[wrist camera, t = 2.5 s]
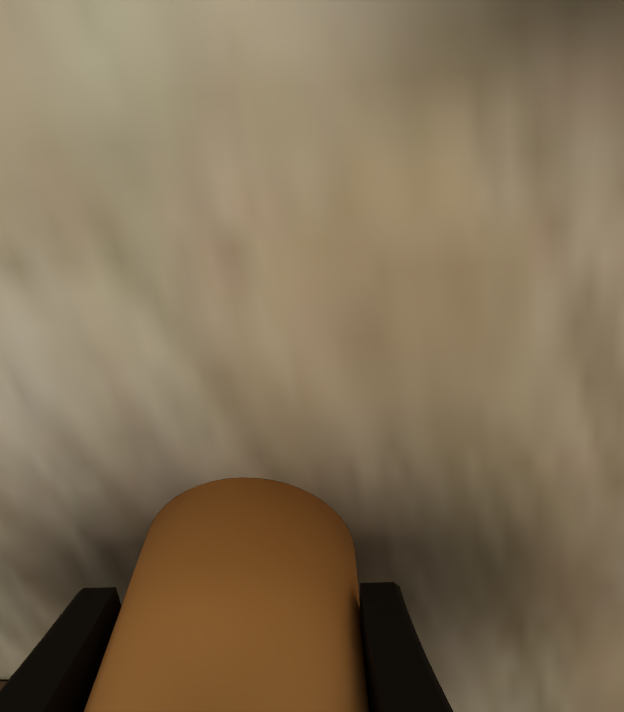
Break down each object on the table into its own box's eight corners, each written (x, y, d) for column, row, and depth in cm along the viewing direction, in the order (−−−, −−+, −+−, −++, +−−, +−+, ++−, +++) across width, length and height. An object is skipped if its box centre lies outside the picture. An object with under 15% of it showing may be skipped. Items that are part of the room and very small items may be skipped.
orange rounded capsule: (356, 475, 10) (388, 776, 6) (354, 625, 12) (377, 933, 8) (127, 480, 10) (-10, 782, 6) (162, 628, 12) (81, 935, 8)
